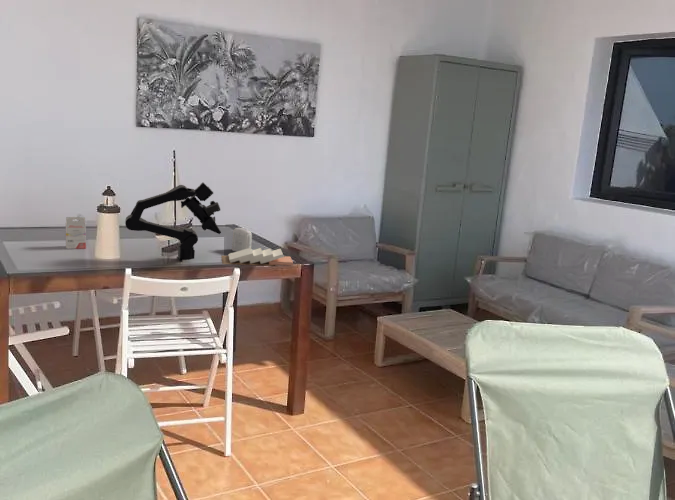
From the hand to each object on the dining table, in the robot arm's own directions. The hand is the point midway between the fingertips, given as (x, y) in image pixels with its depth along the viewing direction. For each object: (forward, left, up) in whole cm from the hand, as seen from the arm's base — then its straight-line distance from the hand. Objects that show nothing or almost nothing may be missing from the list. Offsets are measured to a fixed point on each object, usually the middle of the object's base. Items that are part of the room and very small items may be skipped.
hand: (220, 233), depth 313 cm
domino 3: (+13, -5, -12) cm, 18 cm away
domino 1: (+4, -2, -12) cm, 13 cm away
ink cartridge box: (-56, +34, -13) cm, 67 cm away
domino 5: (+21, -8, -12) cm, 26 cm away
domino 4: (+17, -7, -12) cm, 22 cm away
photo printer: (+16, +11, -13) cm, 23 cm away
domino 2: (+9, -3, -12) cm, 15 cm away
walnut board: (+12, -5, -13) cm, 19 cm away
